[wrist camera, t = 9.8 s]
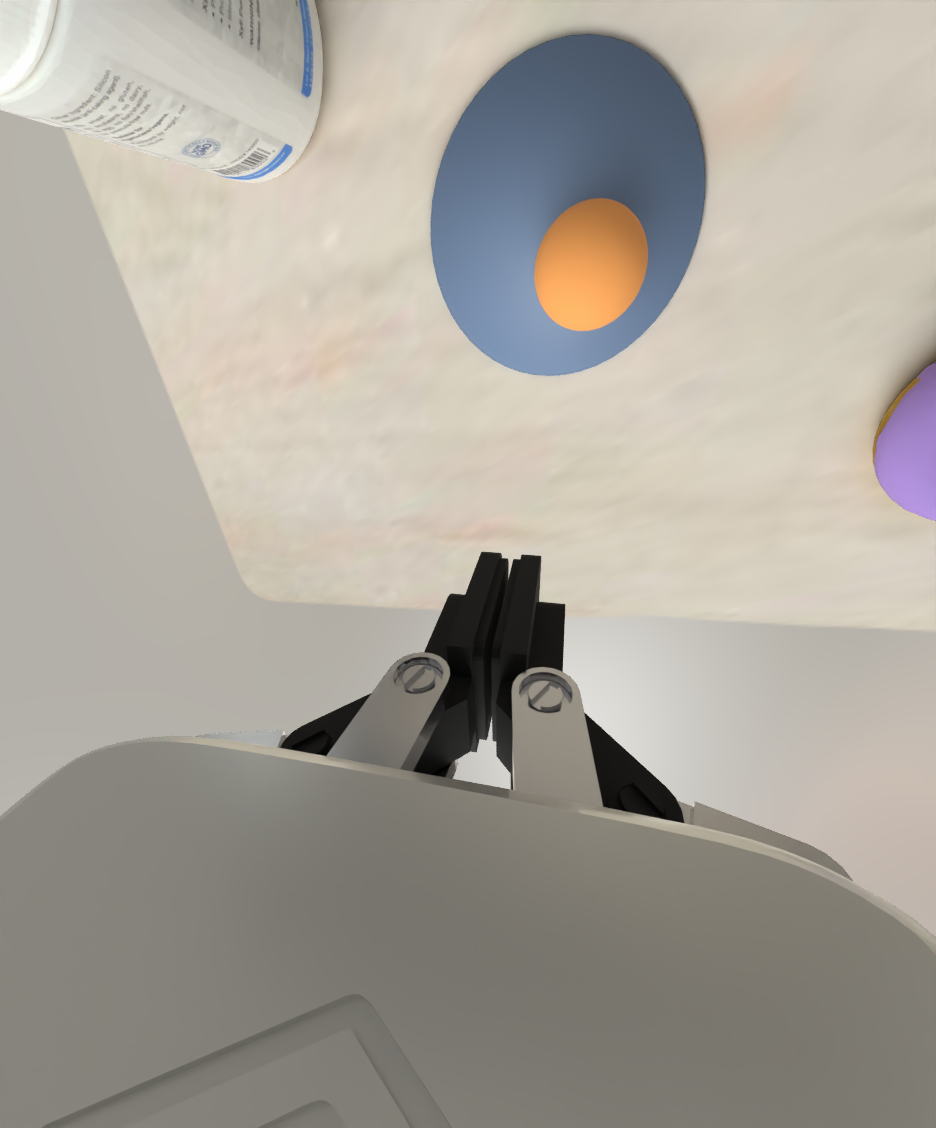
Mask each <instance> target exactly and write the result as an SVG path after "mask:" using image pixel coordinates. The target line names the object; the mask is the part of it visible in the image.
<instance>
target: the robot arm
mask: <svg viewBox="0 0 936 1128" xmlns="http://www.w3.org/2000/svg"><path fill="white" fill-rule="evenodd" d="M540 572H541V556H534V555H521V559H520V560H519V559H514V560H513V564H512V568H511V572H510V576H509V580H508V559H505V558H502V555H501V553H492V552H481V555H480V557H479V560H478V563H477V565H476V568H475V570H474V573H473V576H472V578H471V581H470V584H469V586H468V589H467V592H466V594H465V595H461V594H450V595H449V596H448V598H447V601H446V603H445V605H444V608H443V610H442V612H441V615H440V617H439V619H438V621H437V624H436V626H435V628H434V631H433V633H432V636H431V638H430V640H429V642H428V645H427V647H426V649H425V652H420V653H413V654H410V655H407V656H404V657H402V658H401V659H399V660H397V661H396V662H395V663H394V664H393V665H392V666H391V667H390V669H389V670H388V672H387V673H386V674H385V676H384V677H383V678H382V680H381V681H380V682H379V684H378V685H377V687H376V688H375V689H374V691H373V692H372V693H371V694H369V695H367V696H364V697H362V698H360V699H358V700H356V701H354V702H352V703H350V704H348V705H345V706H343V707H341V708H339V709H337V710H335V711H333V712H331V713H328V714H326V715H325V716H322V717H320V718H318V719H316V720H314V721H312V722H309V723H307V724H305V725H303V726H301V727H300V728H298V729H297V730H295V731H293V732H292V733H291V734H290V735H286V734H285V732H284V730H276V731H257V732H238V733H218V734H205V735H199V736H195V737H192V736H166V737H152V738H143V739H137V740H133V741H126V742H121V743H117V744H113V745H109V746H106V747H103V748H100V749H97V750H94V751H91V752H89V753H87V754H84V755H82V756H80V757H78V758H76V759H75V760H73V761H71V762H70V763H68V764H67V765H65V766H63V767H62V768H60V769H59V770H57V771H56V772H55V773H53V774H52V775H50V776H49V777H48V778H46V779H45V780H44V781H43V782H41V783H40V784H39V785H37V786H36V787H35V788H34V789H33V790H31V791H30V792H29V793H28V794H26V795H25V796H24V797H23V798H21V799H20V800H19V801H18V802H17V803H15V804H14V805H13V806H12V807H10V808H9V809H8V810H7V811H6V812H5V813H4V814H2V815H1V816H0V1128H936V937H935V936H934V935H933V934H931V933H930V932H929V931H928V930H927V929H925V928H924V927H923V926H922V925H921V924H919V923H918V922H917V921H916V920H914V919H913V918H912V917H910V916H909V915H907V914H906V913H904V912H903V911H901V910H900V909H898V908H897V907H896V906H894V905H893V904H891V903H889V902H888V901H886V900H885V899H883V898H881V897H880V896H878V895H876V894H875V893H873V892H872V891H870V890H868V889H866V888H865V887H863V886H861V885H859V884H857V883H855V882H854V881H853V880H852V879H851V878H850V876H849V875H848V874H847V872H846V871H845V870H844V869H843V867H841V866H840V865H839V864H838V863H837V862H836V861H834V860H833V859H832V858H831V857H830V856H828V855H827V854H826V853H824V852H822V851H820V850H818V849H816V848H815V847H813V846H811V845H808V844H806V843H803V842H801V841H798V840H796V839H793V838H790V837H788V836H785V835H782V834H779V833H777V832H774V831H772V830H769V829H766V828H764V827H761V826H759V825H756V824H753V823H751V822H748V821H745V820H743V819H740V818H737V817H735V816H732V815H729V814H726V813H724V812H721V811H719V810H716V809H713V808H711V807H708V806H706V805H703V804H700V803H697V802H694V804H693V806H690V805H687V804H685V803H682V802H680V801H677V800H676V798H675V797H674V796H673V794H672V793H671V792H670V791H669V790H668V789H667V788H666V786H665V785H663V784H662V783H661V782H660V781H659V780H658V779H657V778H656V777H655V776H653V775H652V774H651V773H650V772H649V771H648V770H647V769H646V768H645V767H644V766H643V765H641V764H640V763H639V762H638V761H637V760H636V759H635V758H634V757H633V756H632V755H630V754H629V753H628V752H627V751H626V750H625V749H624V748H623V747H622V746H621V745H619V744H618V743H617V742H616V741H615V740H614V739H613V738H612V737H611V736H610V735H608V734H607V733H606V732H605V731H604V730H603V729H602V728H601V727H600V726H599V725H597V724H596V723H595V722H594V721H593V720H592V719H591V718H589V716H587V714H585V713H584V709H583V704H582V699H581V695H580V691H579V688H578V686H577V684H576V683H575V682H574V680H572V678H571V677H570V676H568V675H566V674H565V673H563V672H562V671H563V669H562V668H563V647H564V621H565V604H557V603H547V602H539V590H540ZM491 717H492V727H493V729H492V730H493V741H496V743H497V745H496V746H497V757H498V758H499V759H500V761H501V762H502V763H503V765H504V766H505V767H506V768H507V770H508V771H509V772H510V789H504V788H499V787H493V786H488V785H483V784H477V783H472V782H466V781H461V780H455V779H453V776H454V774H455V772H456V768H457V764H458V758H460V757H462V756H463V755H465V754H466V753H468V752H470V751H472V752H477V747H478V743H479V739H483V740H486V739H487V737H488V732H489V727H490V722H491Z"/></svg>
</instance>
